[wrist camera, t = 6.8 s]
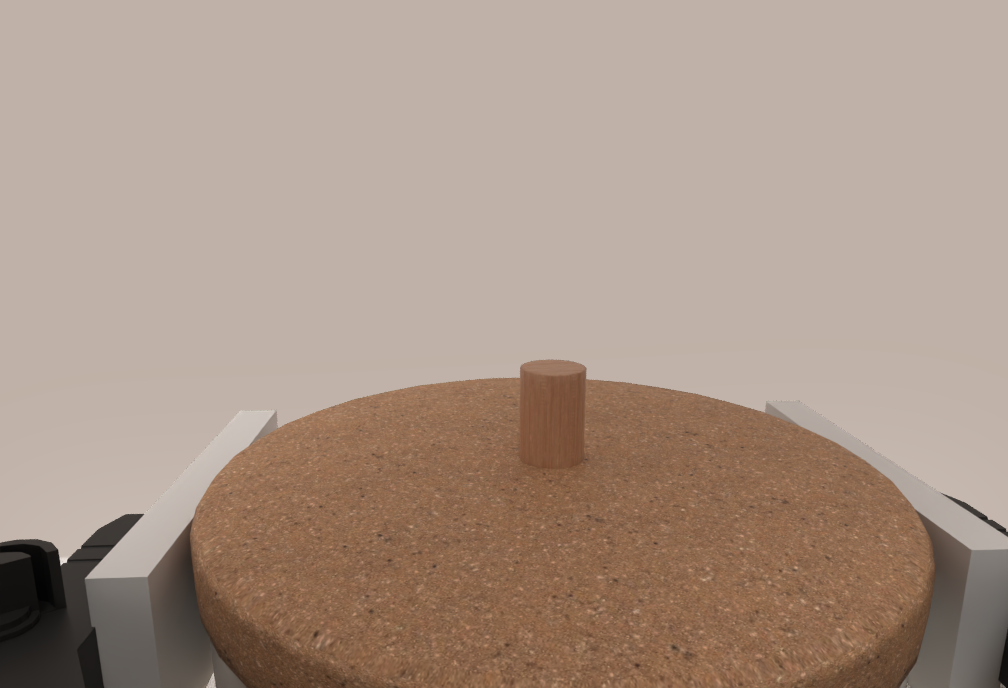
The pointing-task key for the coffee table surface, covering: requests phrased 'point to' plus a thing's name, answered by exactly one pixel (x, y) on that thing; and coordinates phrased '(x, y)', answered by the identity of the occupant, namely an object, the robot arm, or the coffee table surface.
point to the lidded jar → (557, 546)
